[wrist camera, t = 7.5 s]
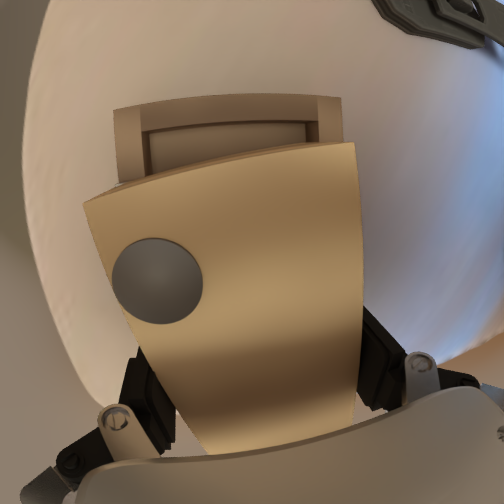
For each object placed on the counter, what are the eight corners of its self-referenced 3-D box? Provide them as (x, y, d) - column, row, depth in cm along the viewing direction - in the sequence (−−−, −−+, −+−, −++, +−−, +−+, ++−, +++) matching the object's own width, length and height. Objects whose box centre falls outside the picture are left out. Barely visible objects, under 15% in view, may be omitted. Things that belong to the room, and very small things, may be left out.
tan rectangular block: (124, 183, 10) (79, 204, 6) (302, 142, 10) (357, 142, 6) (223, 431, 16) (231, 484, 12) (325, 405, 16) (348, 453, 12)
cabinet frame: (128, 116, 15) (108, 108, 11) (320, 104, 16) (347, 95, 13) (177, 380, 22) (176, 413, 19) (313, 362, 24) (327, 390, 21)
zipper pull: (551, 84, 11) (428, -1, 8) (514, 82, 17) (375, 26, 14) (533, 21, 7) (386, -81, 5) (499, 24, 14) (349, -48, 11)
